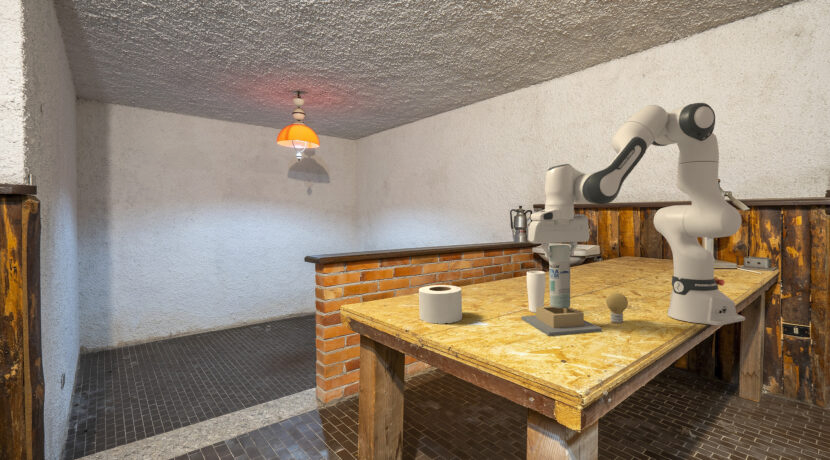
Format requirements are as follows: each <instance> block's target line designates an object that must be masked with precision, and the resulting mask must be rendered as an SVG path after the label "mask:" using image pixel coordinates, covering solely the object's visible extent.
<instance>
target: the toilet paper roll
mask: <svg viewBox="0 0 830 460" xmlns="http://www.w3.org/2000/svg"><path fill="white" fill-rule="evenodd" d="M462 295H463V294H462V288H461V287H459V286H456V285H450V284H449V285H448V284H437V285H436V284H434V285H427V286H422V287H420V288H419V289H418V304H419V305H418V307H419V308H418V310H419V320H420V319H421V320H420V321H422V320H423V321H422V322H424V321H426V322H425V323H427V322H430V323H429V324H433V323H438V324H437V325H445V323H448V324H453V322H454V323H457V322H459V321H461V320H462V318H463V304H462V303H463V302H462V301H463V299H462V298H463V297H462Z"/></svg>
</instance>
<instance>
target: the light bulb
mask: <svg viewBox="0 0 830 460" xmlns="http://www.w3.org/2000/svg"><path fill="white" fill-rule="evenodd" d="M605 299H606V300H605V301H606V302H605V303H606V306H607V307H608V309H609V310H610V316H609V317H610V321H611V322H612V323H615V324H622V323H623V322H624V313H623V312H624V311H626V309H627V307H628V304H629V301H628V298H627V297H626V296H625V294H623V293H620V292H612V293H609V294H608V295H607V296H606V298H605Z"/></svg>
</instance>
